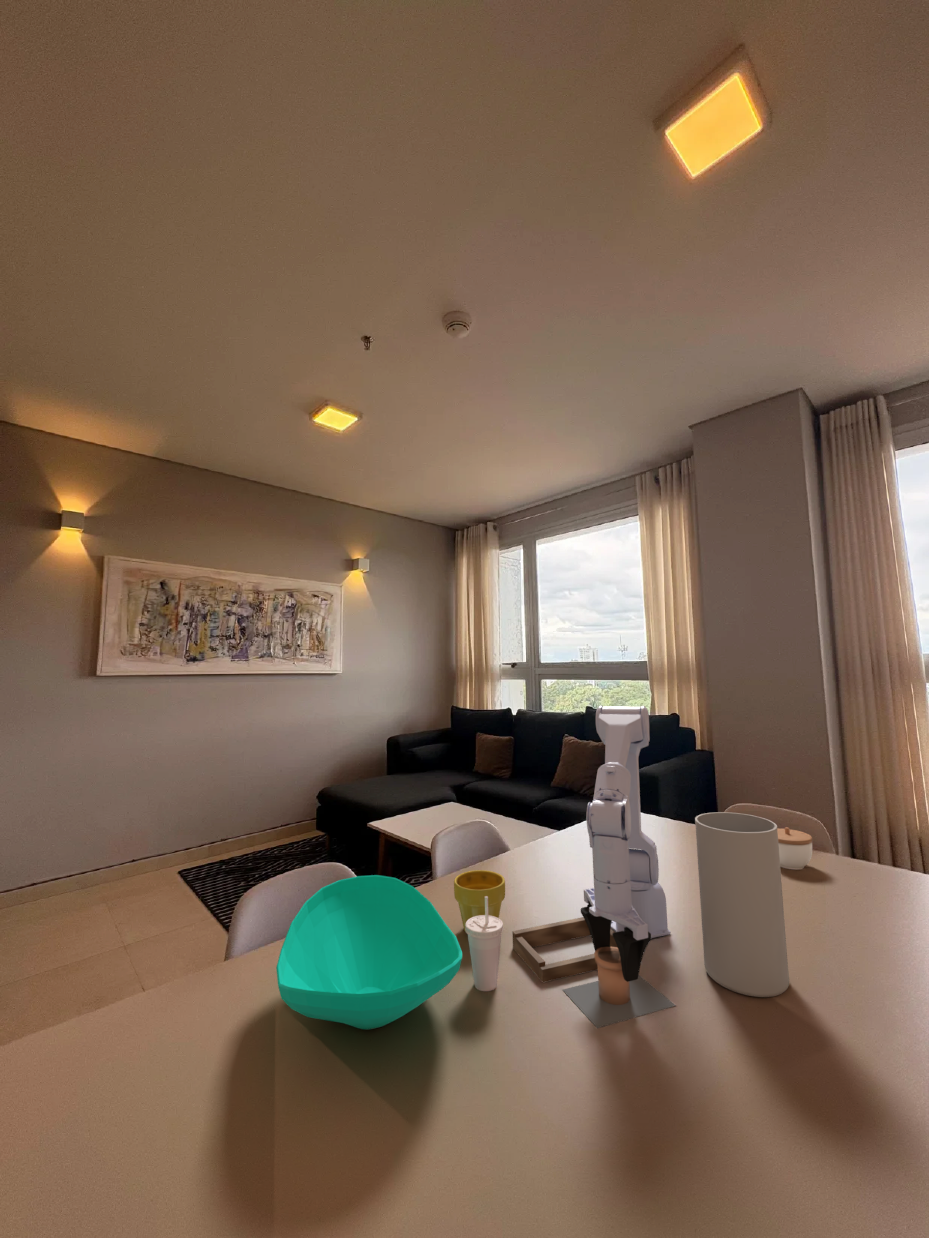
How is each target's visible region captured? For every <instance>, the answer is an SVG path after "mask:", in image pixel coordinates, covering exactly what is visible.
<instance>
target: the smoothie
mask: <svg viewBox="0 0 929 1238" xmlns="http://www.w3.org/2000/svg"><path fill="white" fill-rule="evenodd" d="M465 931H466V932H465ZM465 931H464V932H465V934H466V935H467V940H468V947H469V954H470V959H471V967H472V975H473V981H474V982H473V983H474V988H475V989H477V990H478V991H481V992H491V991H494V990H495V989H496V988H497V986H498V975H499V974H498V973H499V964H500V954H501V953H500V951H501V943H502V942H501V941H502V933H503V932H504V922H503V920H502V919H500V917H499V918H497V917H494V916H489V915H488V896H485V915H480V916H475V917H472V918H470V919H468V920H467V922H466V928H465Z"/></svg>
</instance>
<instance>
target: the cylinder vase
mask: <svg viewBox="0 0 929 1238" xmlns="http://www.w3.org/2000/svg"><path fill="white" fill-rule="evenodd" d="M694 823H695V839H696V851H697V852H696V853H697V869H698V884H699V901H700V914H701V915H700V916H701V930H702V932H701V933H702V945H703V946H702V947H703V949H702V950H703V960H704V961H703V962H704V968H705V971H706V972H707V975H708V976H710V978H711V979H712V981H714V982H715V983H717V984H719V985H720V986H721V987H723V988H725V989H728V990H729V991H732V992H735V993H737V994H740V995H744V996H749V997H755V998H770V997H775V996H779V995H781V994H783V993H784V992H786V990H787V989H788V988H789V985H790V975H789V973H790V972H789V962H788V948H787V937H786V923H785V912H784V911H785V910H784V899H783V897H784V896H783V885H782V884H783V883H782V872H781V867H780V857H779V845H778V832H777V829H778V825H777V824H776V823H775V822H773V821H772V820H770V819H767V818H764V817H761V816H756V815H752V814H747V813H738V812H727V811H726V812H725V811H722V812H721V811H718V812H707V813H705V812H704V813H701V814H699V815H696V816H695V817H694Z"/></svg>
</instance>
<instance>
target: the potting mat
mask: <svg viewBox="0 0 929 1238" xmlns="http://www.w3.org/2000/svg"><path fill="white" fill-rule="evenodd" d="M629 984H630V1000H629V1002H627V1003H626V1004H622V1005H614V1004H609V1003H607V1002H605V1001H603V1000H602V999H601V998H600V996H599V988H598V980H595V981H592V982H587V983H583V984H579V985H575V986H572V987H567V988H563V989H562V991H563V993H565V995H566V996H567V997H568V998H569V999H570V1000H571V1001H572V1003H573V1004H574V1005H575V1006H576V1007H577V1008H578V1009H579V1010H580V1011H581V1013H583V1015H585V1017H586V1018H587V1019H588V1020H589V1021H590V1022H591V1024H593V1026H594V1027H595V1028H596V1029H599V1028H603V1027H607V1026H610V1025H615V1024H617V1023H620V1022H624V1021H628V1020H632V1019H635V1018H639V1017H643V1016H645V1015H649V1014H653V1013H657V1012H660V1011H665V1010H667V1009H671V1008H674V1007H677V1005H676V1004H675V1003H674V1002H672V1001H671V1000H670V999H669V998H668V997H667V996H665V995H664V993H661V991H660V990H658V989H657V988H656V987H654V986H653V985H652V984H651V983H649V981H647V980H646V979H644V978H643V977H642V976H641V975H640V974H639V975H638V979H637V980H633V981H629Z"/></svg>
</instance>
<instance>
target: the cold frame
mask: <svg viewBox="0 0 929 1238" xmlns="http://www.w3.org/2000/svg"><path fill="white" fill-rule="evenodd" d="M511 933H512V935H511V936H512V949H513V950H514V952H515V953H517V954H519V955H518V956H519V957H520V958H521V959H522V961H523V962H524V963H525V964H526V965H527V967H529V969H530V970H531V971H532V972H533V973H534V974H535V975H536V976H537V978H538V979H539V980H540V981H541V982H542V983H547V982H553V981H555V980H558V979H564V978H568V977H572V976H576V974H577V975H579V974H584V973H589V972H593V971H598V966H597V963H596V962H595V957H594V953H591V954H586V955H581V956H578V957H573V958H569V959H564V960H560V961H556V962H550V963H548V964H546V961H545V960H544V959H543V957H542V956H540V954H539V953H538V952H537V951H536V950H535V949H534V948H536V947H537V946H538V947H542V946H546V945H547V946H548V945H550V944H557V943H559V942H560V941H561V942H564V941H570V940H575V939H578V938H584V937H588V936H591V934H590V931H589V928H588V926H587V923H586V921H585V919H584V917H583V916H581V917H577V918H572V919H566V920H561V921H557V922H552V923H547V924H542V925H538V926H537V925H536V926H532V927H527V928H523V929H517V930H513V931H511ZM613 933H615V931H614V930H613V929H610V947H617V944H616V942H615V939H614V937H613ZM574 938H575V939H574ZM532 947H533V948H532ZM538 947H537V948H538ZM617 948H618V947H617Z"/></svg>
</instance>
